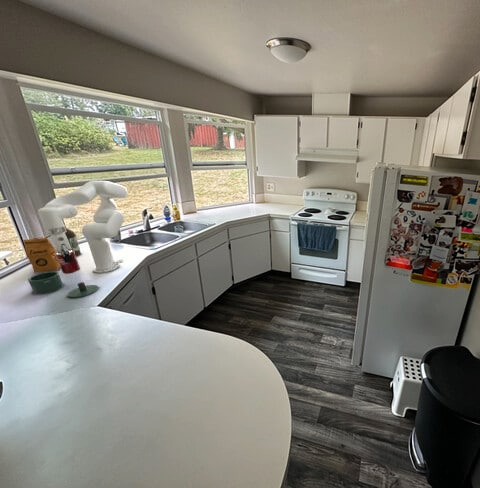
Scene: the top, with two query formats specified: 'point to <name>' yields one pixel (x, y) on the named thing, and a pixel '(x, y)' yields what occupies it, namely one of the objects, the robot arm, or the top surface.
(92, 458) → the top surface
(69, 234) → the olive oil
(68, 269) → the soda can
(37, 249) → the coffee package
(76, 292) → the lid
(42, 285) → the pot
